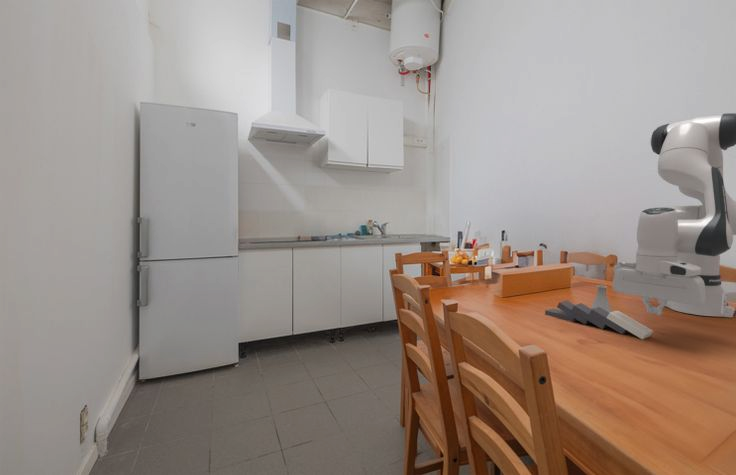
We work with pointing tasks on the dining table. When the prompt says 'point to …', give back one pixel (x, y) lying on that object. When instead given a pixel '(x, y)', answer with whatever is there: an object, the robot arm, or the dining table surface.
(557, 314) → the domino
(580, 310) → the domino
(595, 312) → the domino
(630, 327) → the domino
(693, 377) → the dining table surface
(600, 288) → the flask
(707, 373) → the dining table surface
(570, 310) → the domino
